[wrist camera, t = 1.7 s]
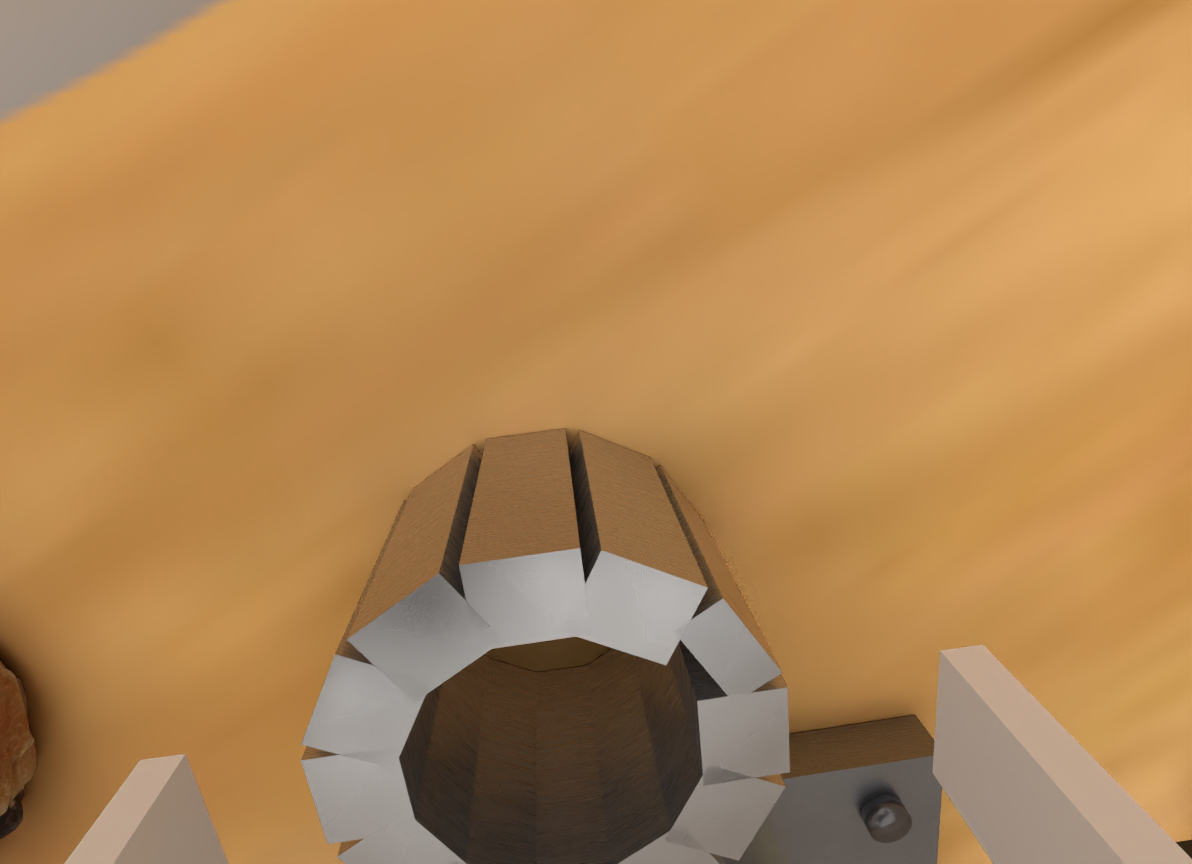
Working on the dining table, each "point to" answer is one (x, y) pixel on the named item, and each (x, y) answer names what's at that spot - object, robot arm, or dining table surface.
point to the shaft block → (854, 798)
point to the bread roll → (14, 750)
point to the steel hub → (548, 675)
